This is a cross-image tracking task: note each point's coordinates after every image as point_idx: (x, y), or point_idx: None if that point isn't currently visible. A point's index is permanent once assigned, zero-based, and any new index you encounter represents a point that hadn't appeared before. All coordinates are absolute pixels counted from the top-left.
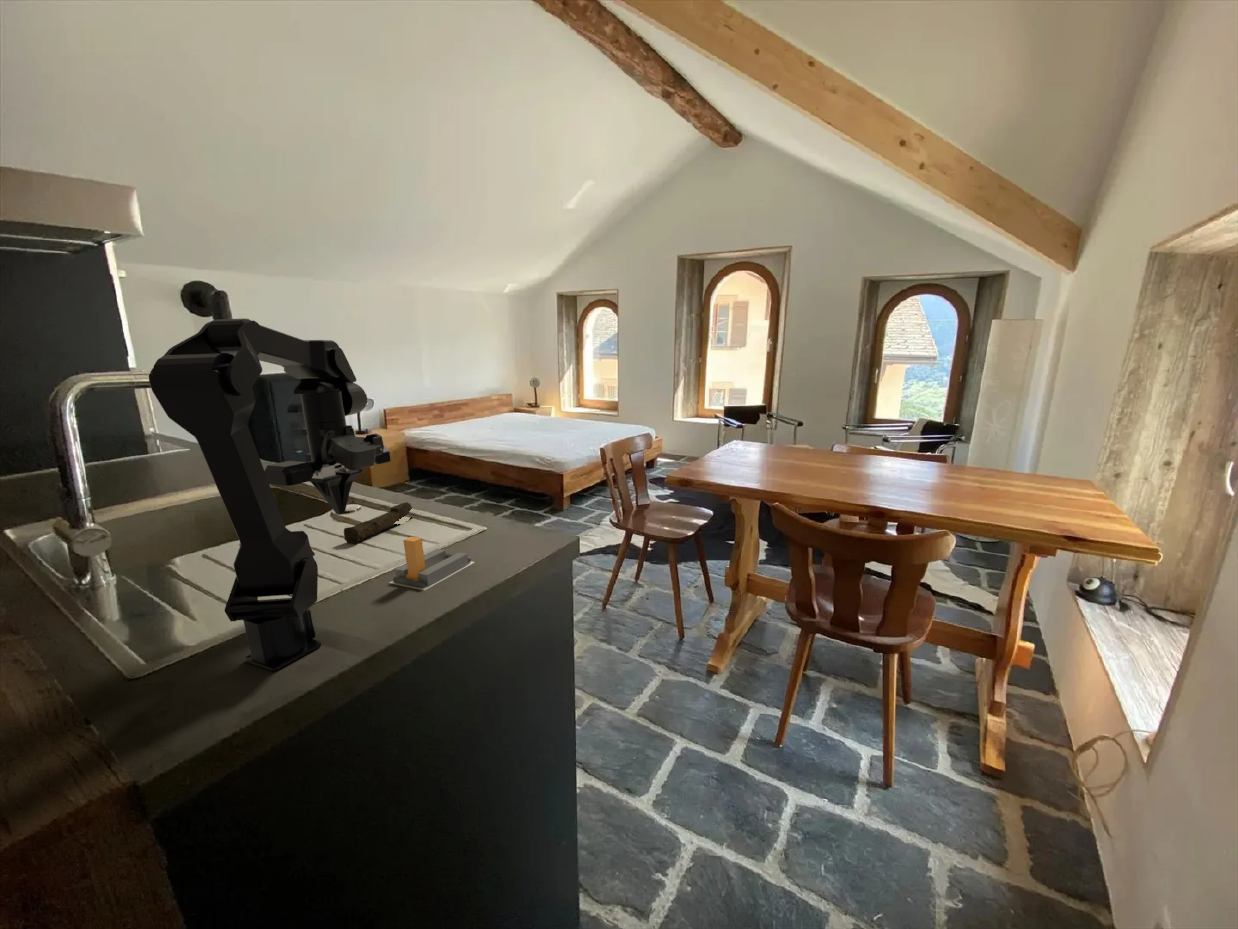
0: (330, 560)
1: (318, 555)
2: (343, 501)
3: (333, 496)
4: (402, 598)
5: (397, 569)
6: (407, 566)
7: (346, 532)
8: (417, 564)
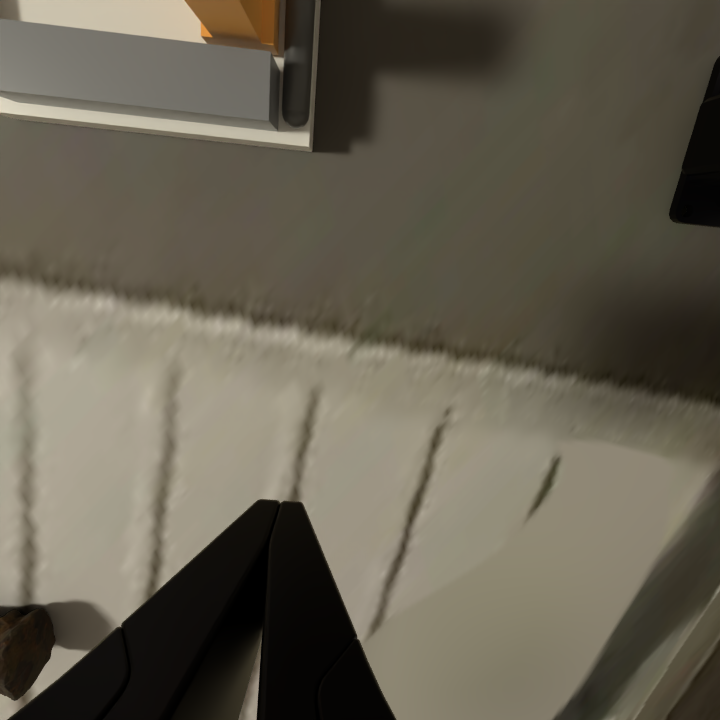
0: None
1: None
2: (243, 569)
3: (362, 667)
4: (349, 39)
5: (268, 102)
6: (252, 22)
7: (28, 676)
8: None
